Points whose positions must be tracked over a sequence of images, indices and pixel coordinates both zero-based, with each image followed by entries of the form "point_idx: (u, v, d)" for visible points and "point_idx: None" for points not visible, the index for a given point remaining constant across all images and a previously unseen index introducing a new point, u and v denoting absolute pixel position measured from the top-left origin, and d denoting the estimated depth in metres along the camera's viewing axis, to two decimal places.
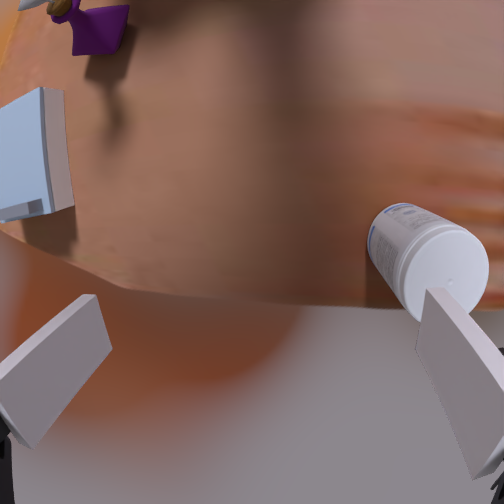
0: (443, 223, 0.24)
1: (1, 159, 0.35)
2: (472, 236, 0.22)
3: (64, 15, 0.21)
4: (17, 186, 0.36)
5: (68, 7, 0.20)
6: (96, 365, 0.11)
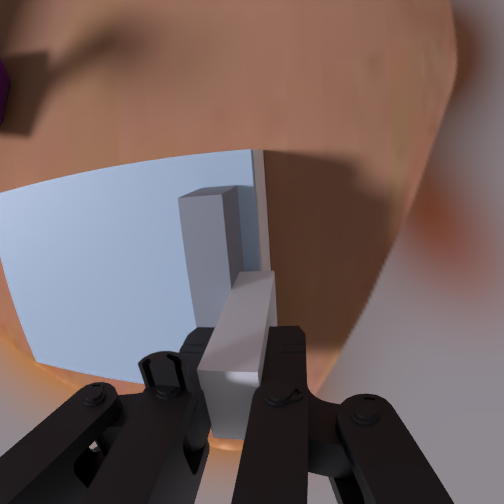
0: None
1: (104, 344, 0.17)
2: None
3: None
4: (164, 294, 0.16)
5: None
6: None
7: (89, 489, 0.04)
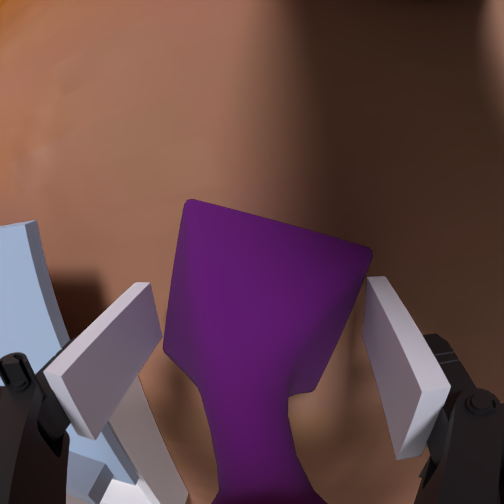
0: None
1: None
2: None
3: None
4: None
5: None
6: (150, 352, 0.12)
7: None
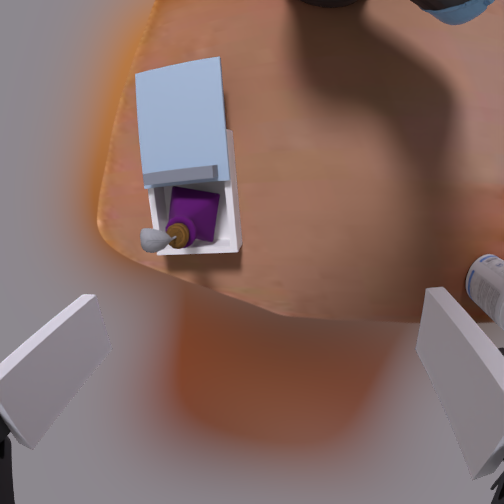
0: None
1: (155, 121, 0.41)
2: None
3: None
4: (180, 150, 0.42)
5: (188, 238, 0.37)
6: (96, 365, 0.11)
7: None
